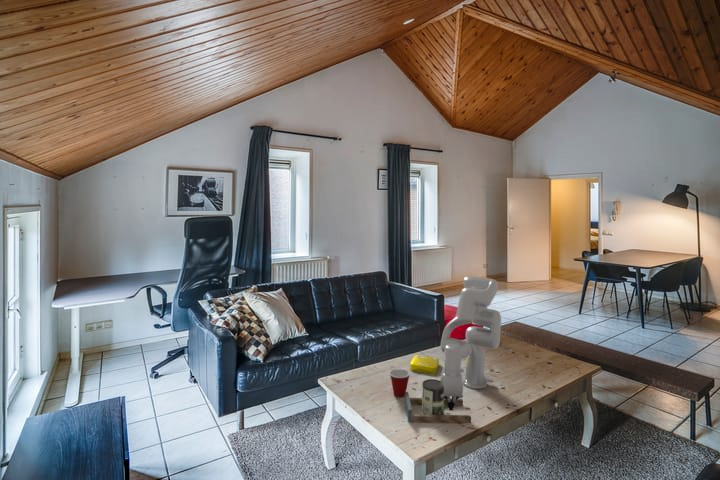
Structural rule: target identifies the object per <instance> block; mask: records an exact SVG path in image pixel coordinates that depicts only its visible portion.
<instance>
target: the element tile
mask: <svg viewBox="0 0 720 480" xmlns="http://www.w3.org/2000/svg"><path fill="white" fill-rule="evenodd" d="M439 366H440V359H439V357H434V356H427V355H422V354H421V355H420V354H415V355H414V356H413V358H412V360H411V361H410V364H409V367H410V369H409V370H410V371H412V372H417V373H424V374H430V375H435V374H436V373H437V370H438V369H439Z"/></svg>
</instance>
